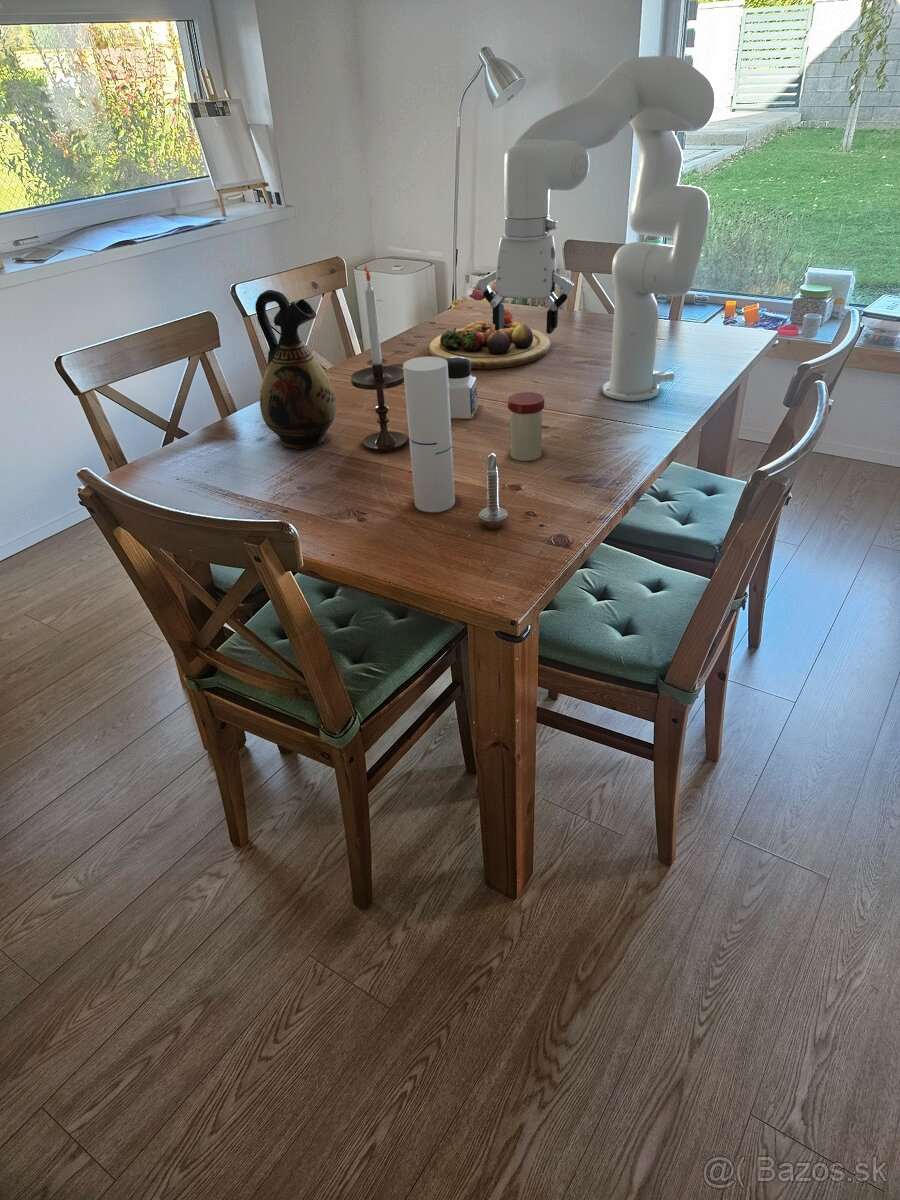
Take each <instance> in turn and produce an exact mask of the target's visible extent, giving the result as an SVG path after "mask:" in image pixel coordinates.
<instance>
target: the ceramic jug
mask: <svg viewBox="0 0 900 1200" xmlns="http://www.w3.org/2000/svg"><path fill="white" fill-rule="evenodd" d="M273 302H275V303H276V304H277V305H278V307H279V310H278V311H277V312H276V314H275V315H274V317H273V323H274V326H276V327H279V328H280V335H279V339H277V337H276V335H275V332H274V330H273V328H272V325H271V322H270V319H269V316H268V314H267V307H266V306H267V304H269V303H273ZM254 309H255V313H256V318H257V322H258V325H259V327H260V330H261V332H262V334H263V336H264V339H265V341H266V342H267V345H268V349H269V350H268V354H267V365H266V366H267V368H266V369H265V372H264V375H263V378H262V380H261V385H260V390H259V407H260V413H261V416H262V419H263V421H264V423H265V425H266V427H267V428H268V429H270V430H271V431H272V432H273V433H274V434H275V435H276V436H278V437H279V441H278V442H279V443H280V444H281V445H283V446H284V447H286V448H290V449H295V450H306V449H309V448H314V447H317V446H320V445H322V444H324V443H325V440H326V437H325V436H326V433H327V431H328V430H329V428H330V427H331V425H332V424H333V422H334V419H335V417H336V416H335V415H336V411H337V403H336V395H335V392H334V390H333V387H332V384H331V381H330V379H329V377H328V375H327V372H326V371H325V369H324V368H323V367H322V365H321V364H320V362H319V361H318V360H317V358H316V357H315V356H314V354H313V353H312V352H311V350H309V349H308V347H307V346H306V345H305V344H304V343H303V340H302V339H301V338H300V335H299V333H298V329H299V327H300V326H302V325H303V324H305V323H307V322H310V321H313V320H314V319H316V318H317V312H316V310H314V309H313V307H312V305H311V304H310V303H309V302H308V301H306V300H305V299H303V298H302V299H299V300H298V301H296V302H295V301H292V302H291V303H290V301H289V300H288V298H287V296H286V295H285V294H284V293H283V292H280V291H277V290H274V289H268V290H265V291H263V292H261V293H260V294H259V295H258V296H257V298H256V301H255V308H254Z"/></svg>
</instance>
